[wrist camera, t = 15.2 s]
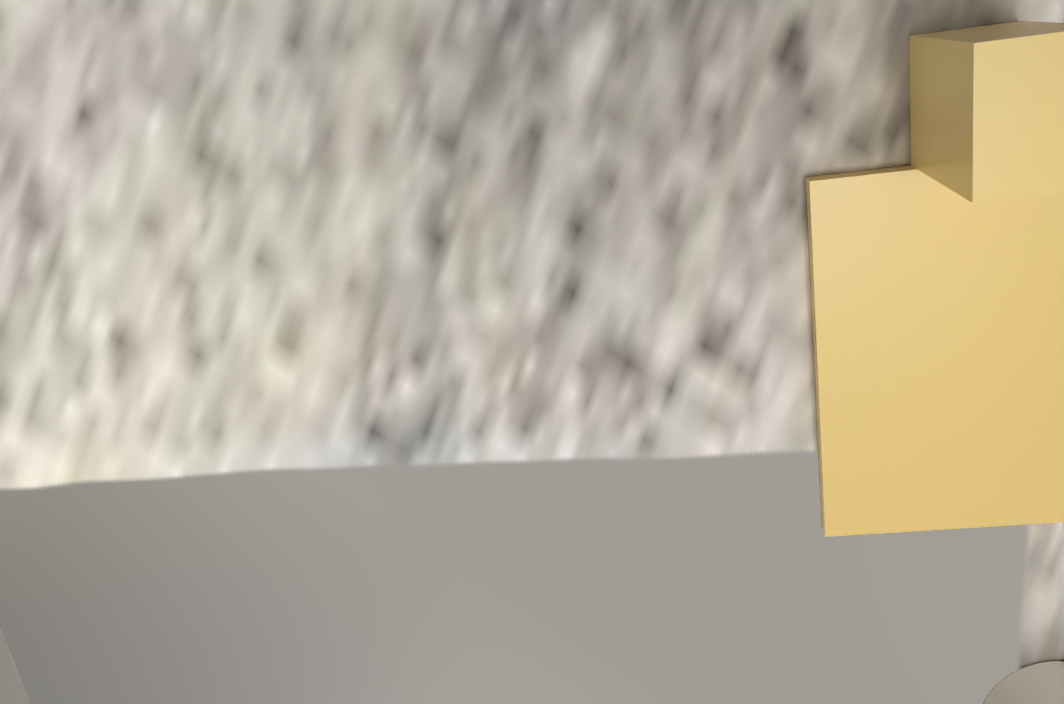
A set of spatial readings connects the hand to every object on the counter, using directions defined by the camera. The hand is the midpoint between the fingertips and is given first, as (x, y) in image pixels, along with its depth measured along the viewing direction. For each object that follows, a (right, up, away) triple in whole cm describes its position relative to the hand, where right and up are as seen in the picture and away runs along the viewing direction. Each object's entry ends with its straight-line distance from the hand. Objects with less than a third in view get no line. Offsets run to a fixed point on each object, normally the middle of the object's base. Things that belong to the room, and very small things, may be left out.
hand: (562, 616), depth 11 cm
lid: (+18, +5, +31) cm, 36 cm away
